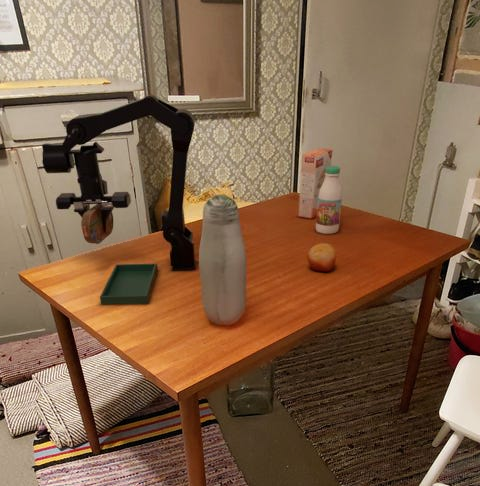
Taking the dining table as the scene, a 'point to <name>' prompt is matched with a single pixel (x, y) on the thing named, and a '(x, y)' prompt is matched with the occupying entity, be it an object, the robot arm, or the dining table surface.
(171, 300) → the dining table surface
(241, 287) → the glass bottle
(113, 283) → the tray
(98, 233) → the tin
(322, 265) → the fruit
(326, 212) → the milk bottle
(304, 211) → the cracker box
